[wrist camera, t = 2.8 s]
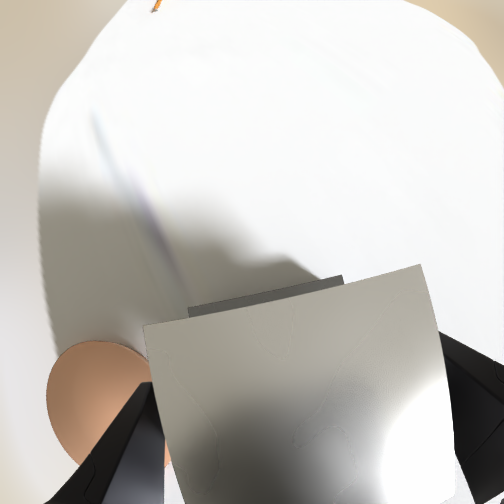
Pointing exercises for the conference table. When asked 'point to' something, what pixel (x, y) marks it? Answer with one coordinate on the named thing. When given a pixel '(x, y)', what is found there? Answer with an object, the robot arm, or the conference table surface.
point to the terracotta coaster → (92, 392)
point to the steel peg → (309, 398)
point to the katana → (157, 5)
